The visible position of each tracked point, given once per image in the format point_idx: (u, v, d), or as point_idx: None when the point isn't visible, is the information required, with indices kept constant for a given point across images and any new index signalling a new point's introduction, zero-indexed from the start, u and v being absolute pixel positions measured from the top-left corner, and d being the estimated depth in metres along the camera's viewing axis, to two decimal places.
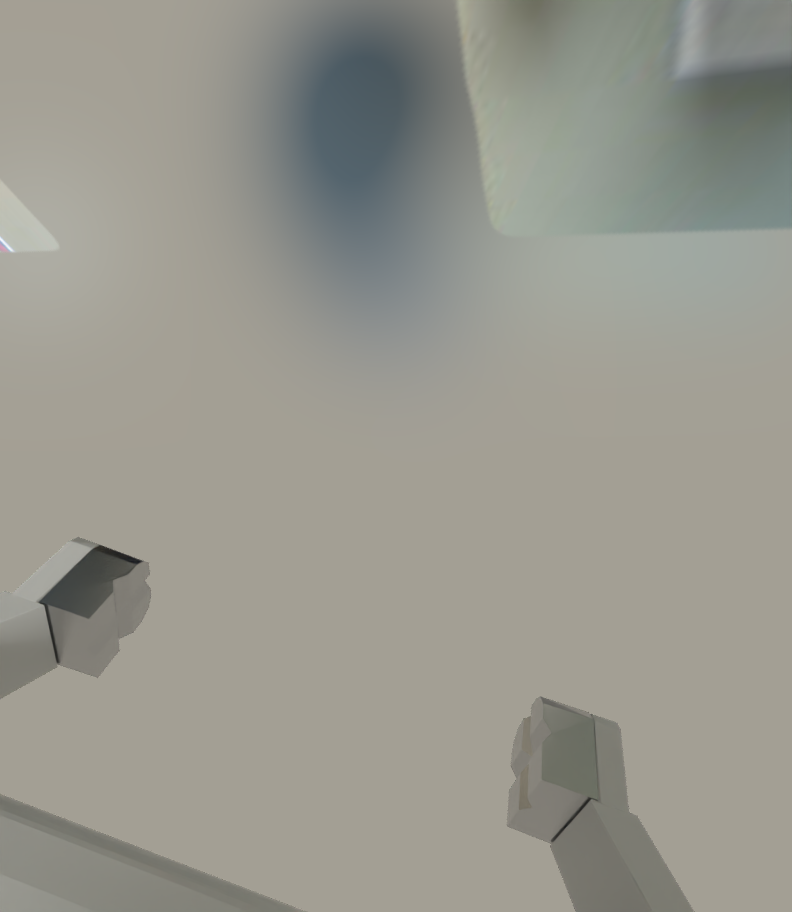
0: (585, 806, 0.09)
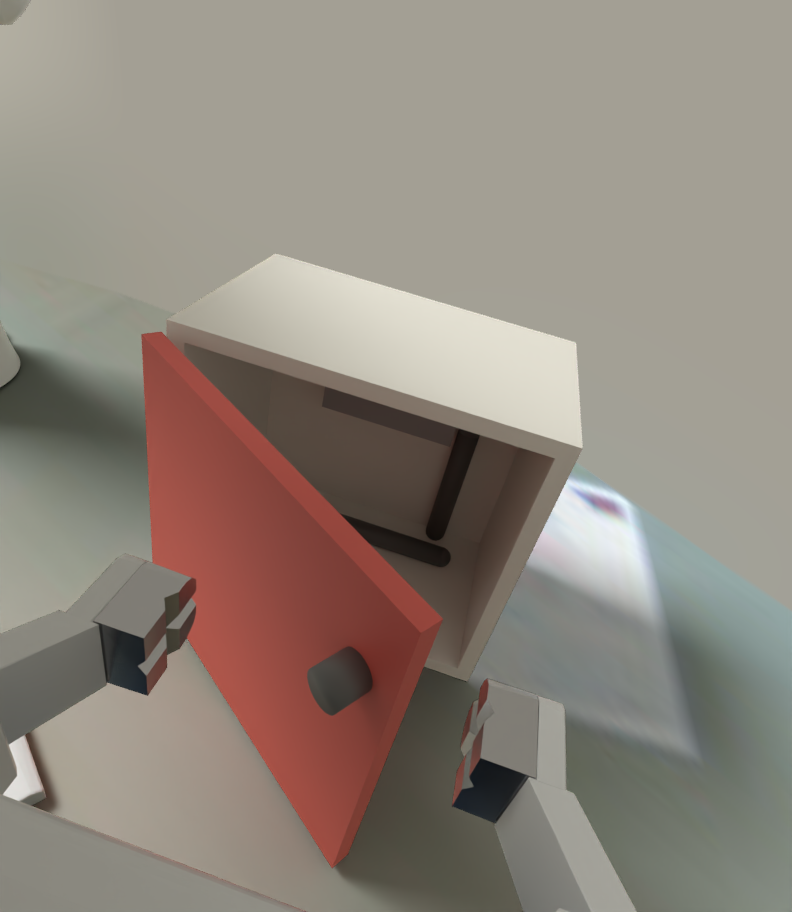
0: (523, 784, 0.09)
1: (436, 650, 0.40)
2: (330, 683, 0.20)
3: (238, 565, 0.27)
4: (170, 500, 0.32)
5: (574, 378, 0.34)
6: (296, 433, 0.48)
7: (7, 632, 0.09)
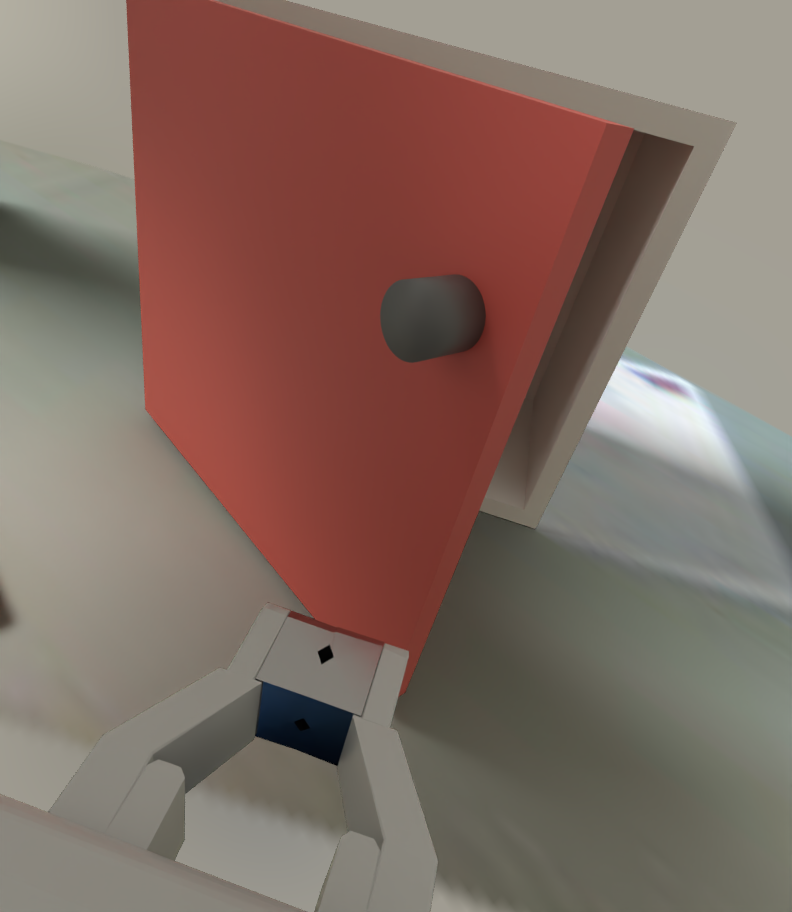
0: (350, 722, 0.10)
1: (496, 491, 0.32)
2: (425, 289, 0.12)
3: (259, 274, 0.20)
4: (165, 244, 0.24)
5: None
6: None
7: (177, 694, 0.09)
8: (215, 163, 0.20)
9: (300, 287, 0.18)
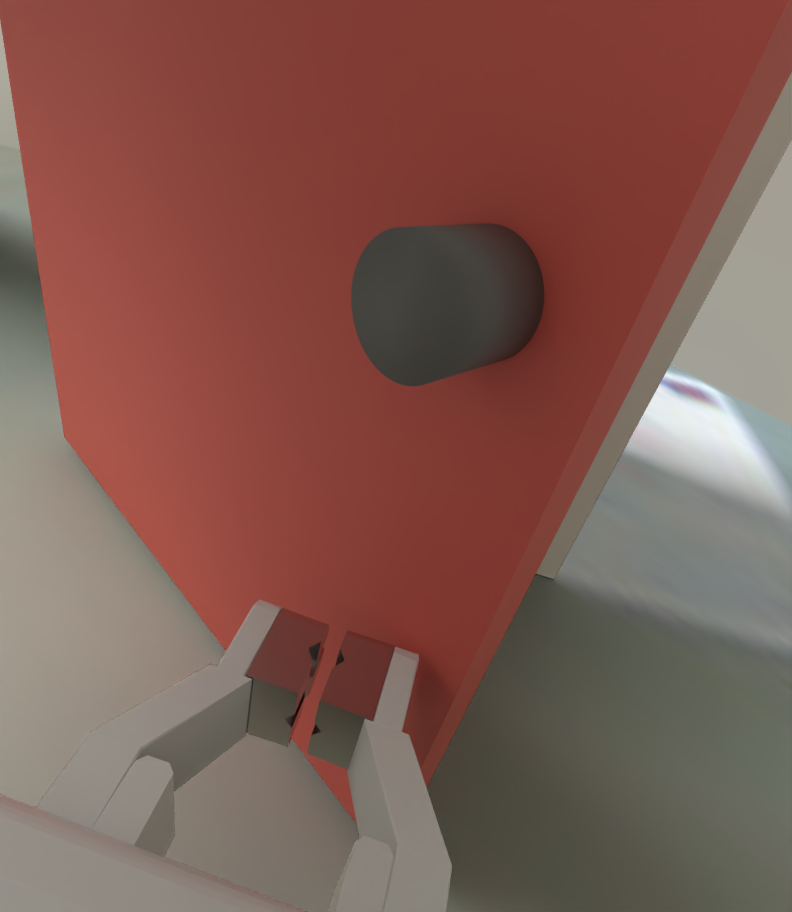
0: (362, 726, 0.10)
1: None
2: (439, 244, 0.06)
3: (175, 253, 0.13)
4: (61, 221, 0.18)
5: None
6: None
7: (167, 690, 0.09)
8: (105, 92, 0.14)
9: (231, 267, 0.12)
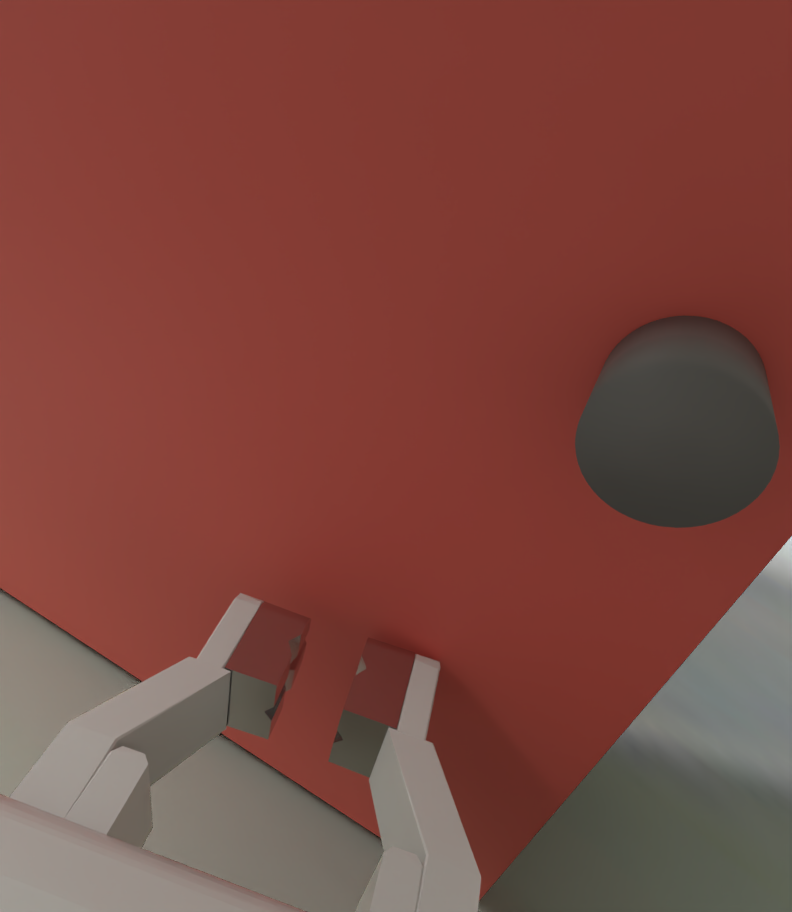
0: (385, 735, 0.10)
1: None
2: (748, 385, 0.05)
3: (138, 328, 0.10)
4: None
5: None
6: None
7: (145, 682, 0.09)
8: None
9: (246, 349, 0.10)
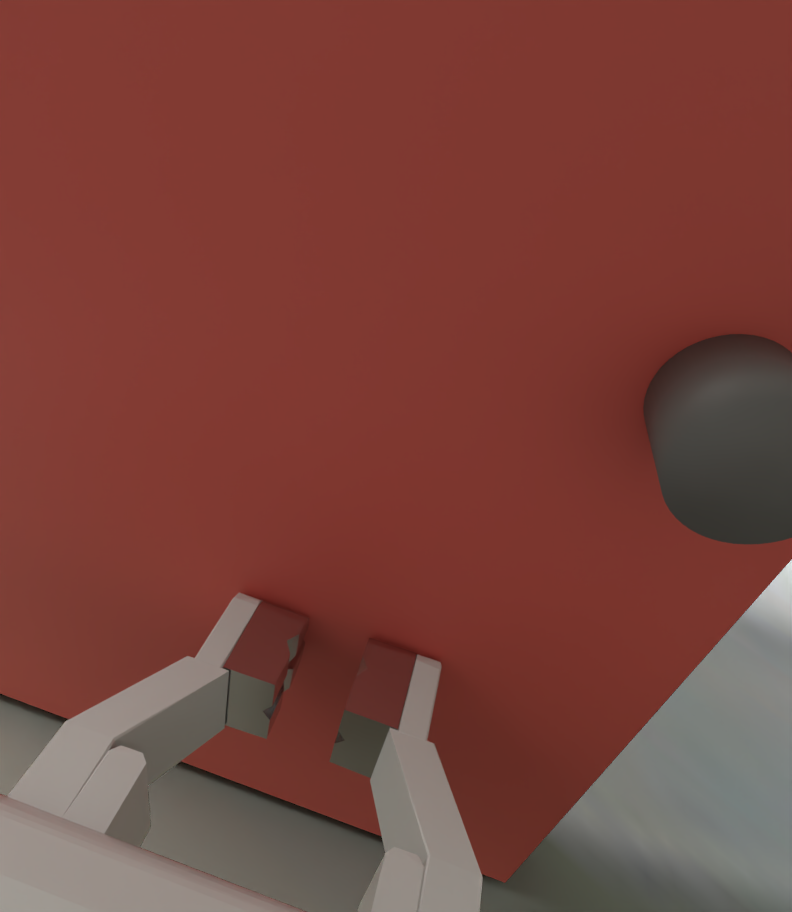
0: (387, 735, 0.10)
1: None
2: None
3: (107, 376, 0.09)
4: None
5: None
6: None
7: (143, 681, 0.09)
8: None
9: (247, 391, 0.09)
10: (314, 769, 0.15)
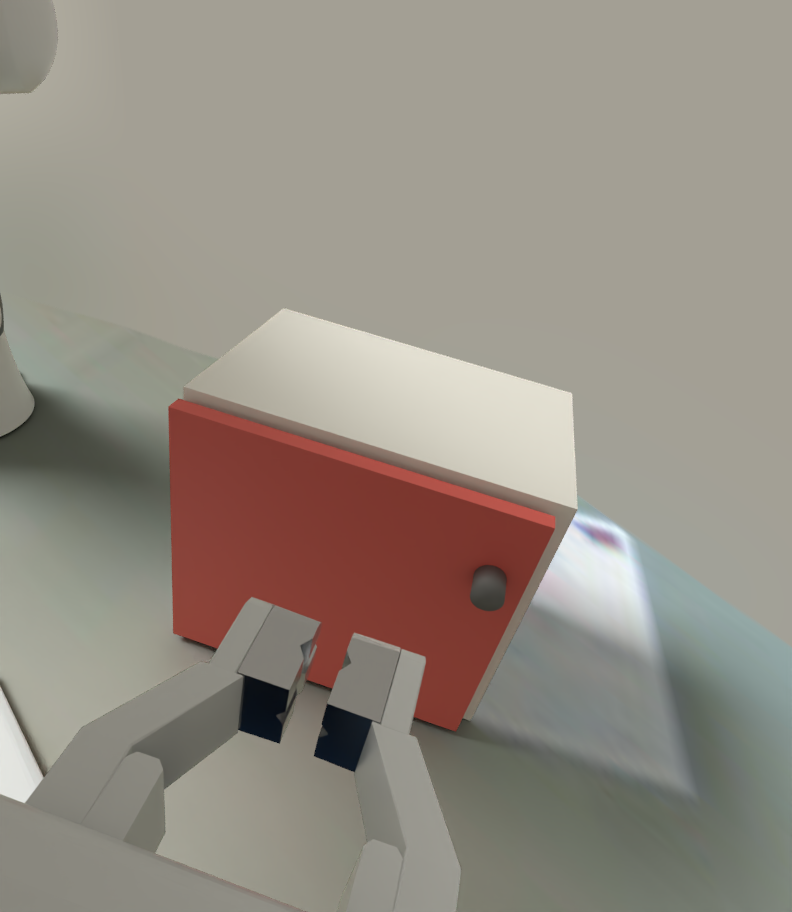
0: (369, 729, 0.10)
1: None
2: (497, 589, 0.30)
3: (335, 561, 0.34)
4: (216, 542, 0.35)
5: (570, 433, 0.36)
6: None
7: (158, 686, 0.09)
8: (286, 510, 0.32)
9: (375, 567, 0.33)
10: None
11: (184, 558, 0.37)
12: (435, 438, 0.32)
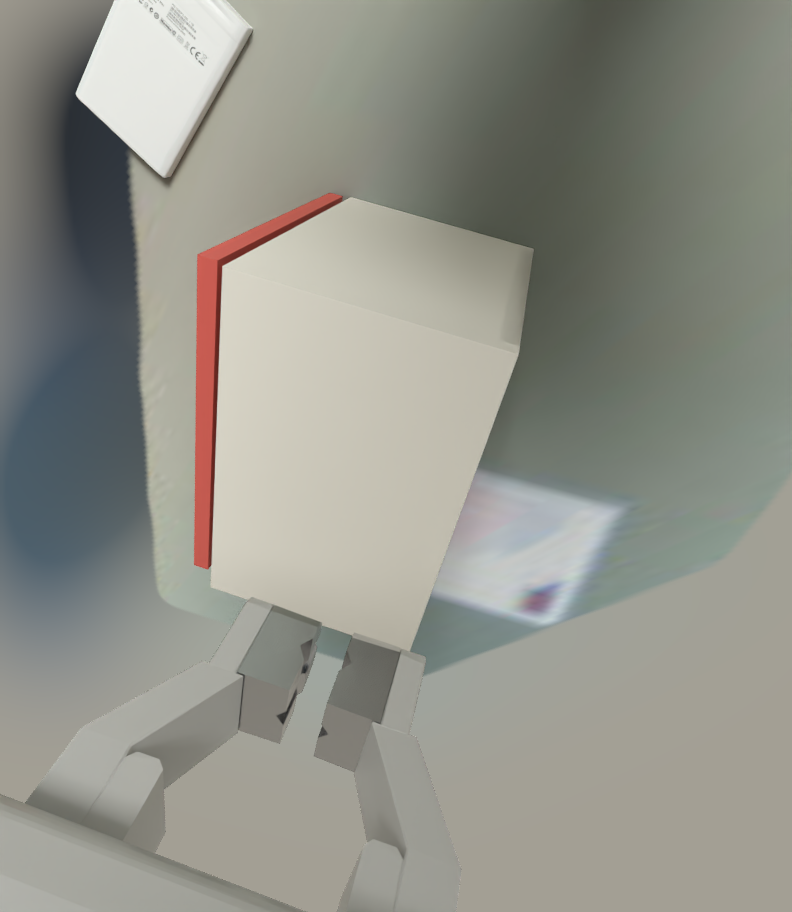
0: (369, 729, 0.10)
1: None
2: None
3: None
4: None
5: None
6: None
7: (158, 687, 0.09)
8: None
9: None
10: None
11: None
12: (254, 509, 0.34)
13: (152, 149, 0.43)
